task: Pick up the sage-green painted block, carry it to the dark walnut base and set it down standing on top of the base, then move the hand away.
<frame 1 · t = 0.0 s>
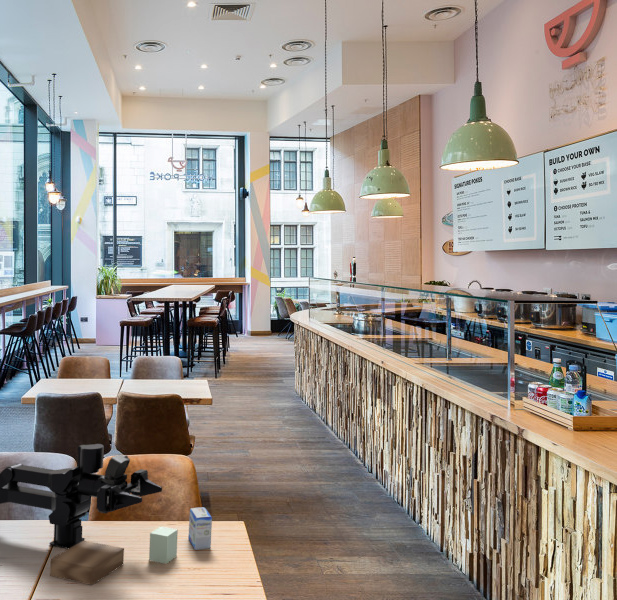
hand: (152, 494, 161), 17 cm above the table, tool horizontal, fingers open, 9 cm apart
walnut base: (87, 569, 154), on the table
medicine box: (199, 544, 172), on the table
sage block: (163, 558, 162), on the table
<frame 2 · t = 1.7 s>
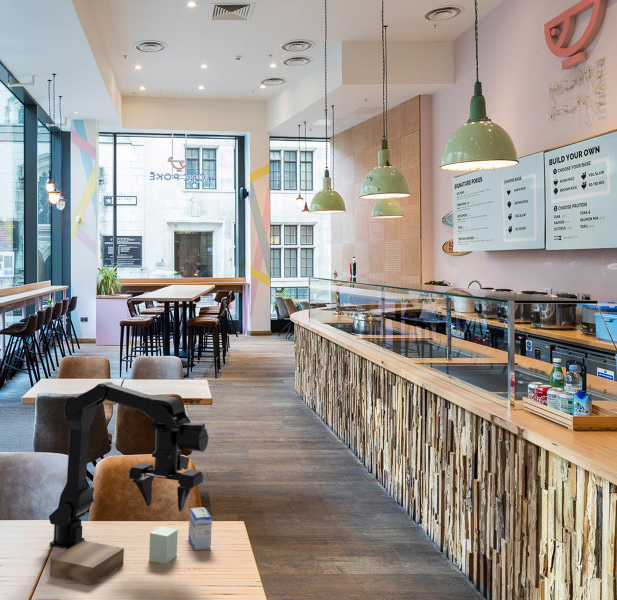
hand: (164, 508, 162), 13 cm above the table, tool pointing down, fingers open, 9 cm apart
nothing on the table moved.
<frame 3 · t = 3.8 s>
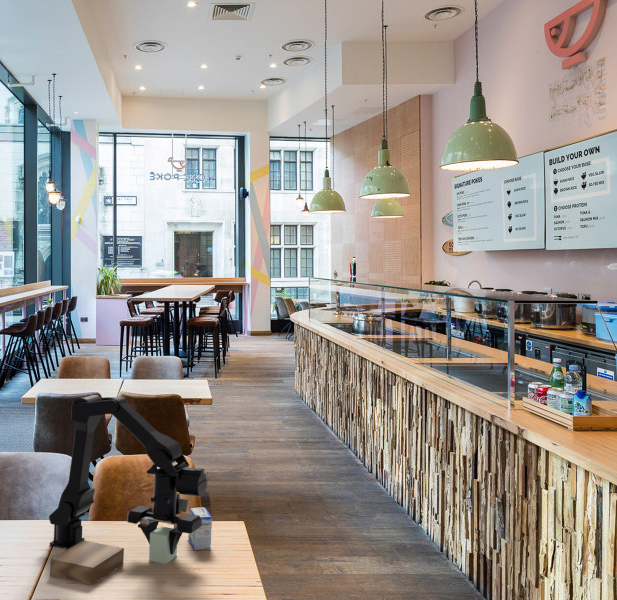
hand: (163, 552, 162), 2 cm above the table, tool pointing down, fingers closed on sage block, 5 cm apart
sage block: (162, 558, 162), on the table, touching gripper
everything else where it was.
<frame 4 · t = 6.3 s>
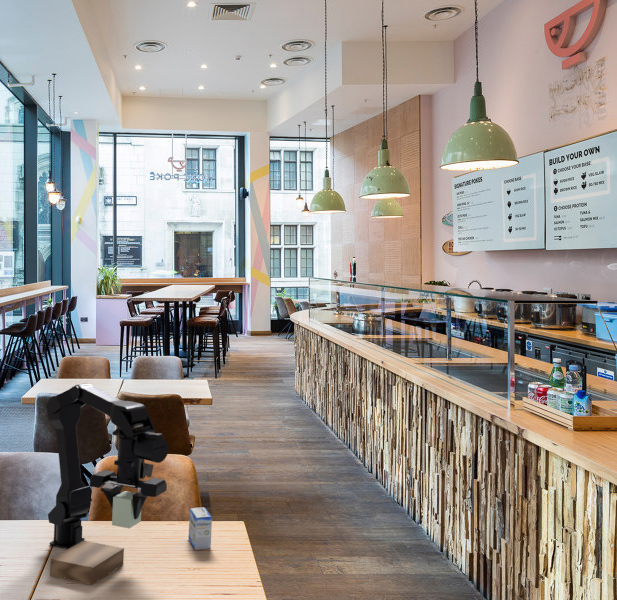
hand: (126, 517, 158), 12 cm above the table, tool pointing down, fingers closed on sage block, 5 cm apart
sage block: (126, 523, 158), point 10 cm above the table, touching gripper
everything else where it was.
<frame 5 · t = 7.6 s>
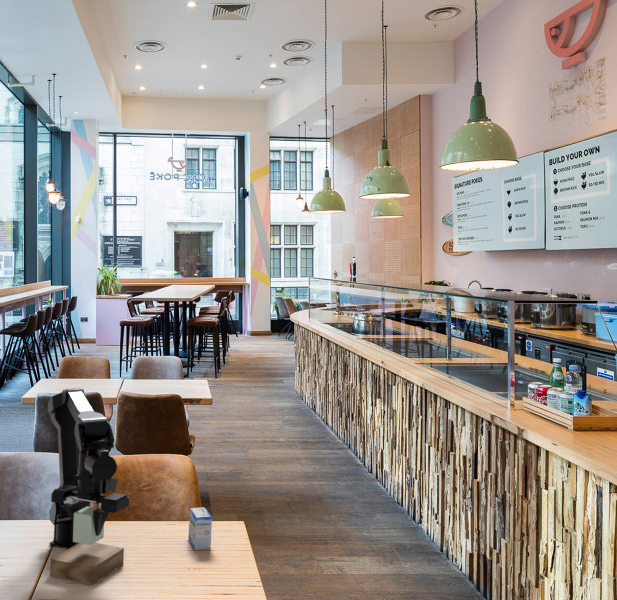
hand: (88, 533, 154), 9 cm above the table, tool pointing down, fingers closed on sage block, 5 cm apart
sage block: (88, 539, 154), point 7 cm above the table, touching gripper
everything else where it was.
when the fingers open (7 cm above the table, at t = 8.8 s): sage block drops 1 cm, resting on walnut base.
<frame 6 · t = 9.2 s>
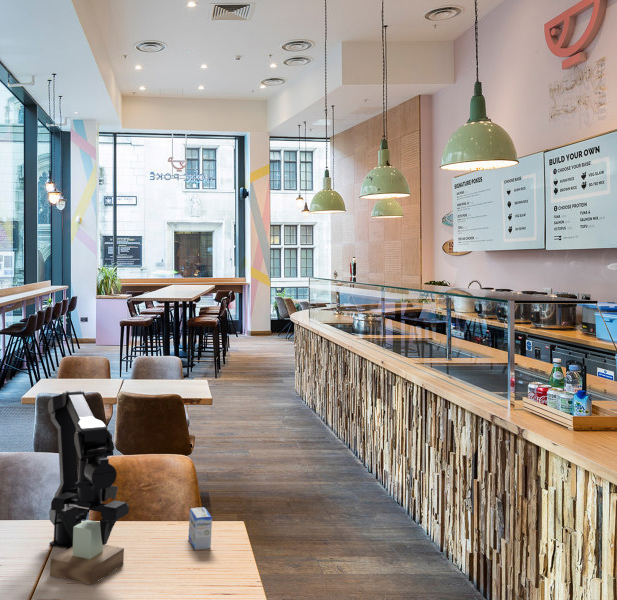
hand: (88, 541, 154), 7 cm above the table, tool pointing down, fingers open, 9 cm apart
sage block: (87, 553, 154), point 4 cm above the table, touching walnut base
everything else where it was.
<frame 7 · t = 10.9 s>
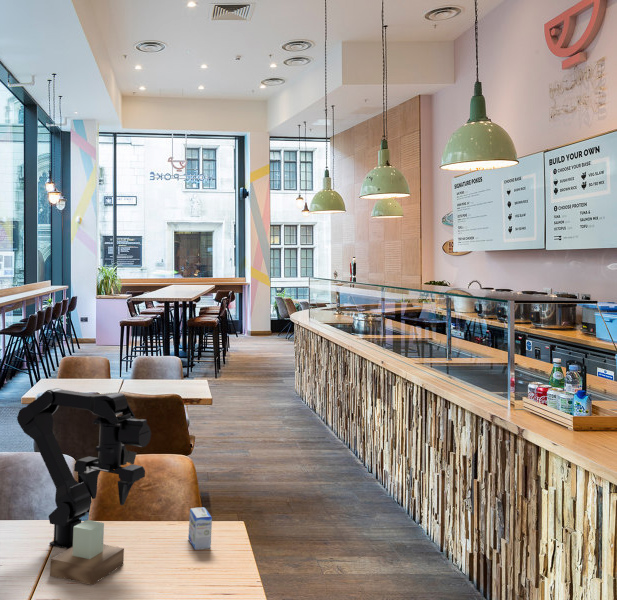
hand: (107, 501, 165), 13 cm above the table, tool pointing down, fingers open, 9 cm apart
nothing on the table moved.
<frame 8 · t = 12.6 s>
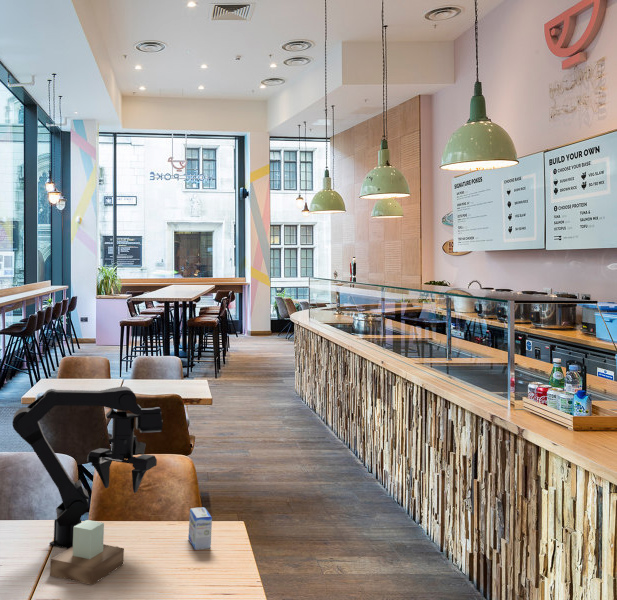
hand: (120, 490, 174), 13 cm above the table, tool pointing down, fingers open, 9 cm apart
nothing on the table moved.
at the end: sage block inside the target area on the walnut base (0.0 cm from its centre), point 4.0 cm above the walnut base's base; sage block touching walnut base; sage block tilted 0° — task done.
